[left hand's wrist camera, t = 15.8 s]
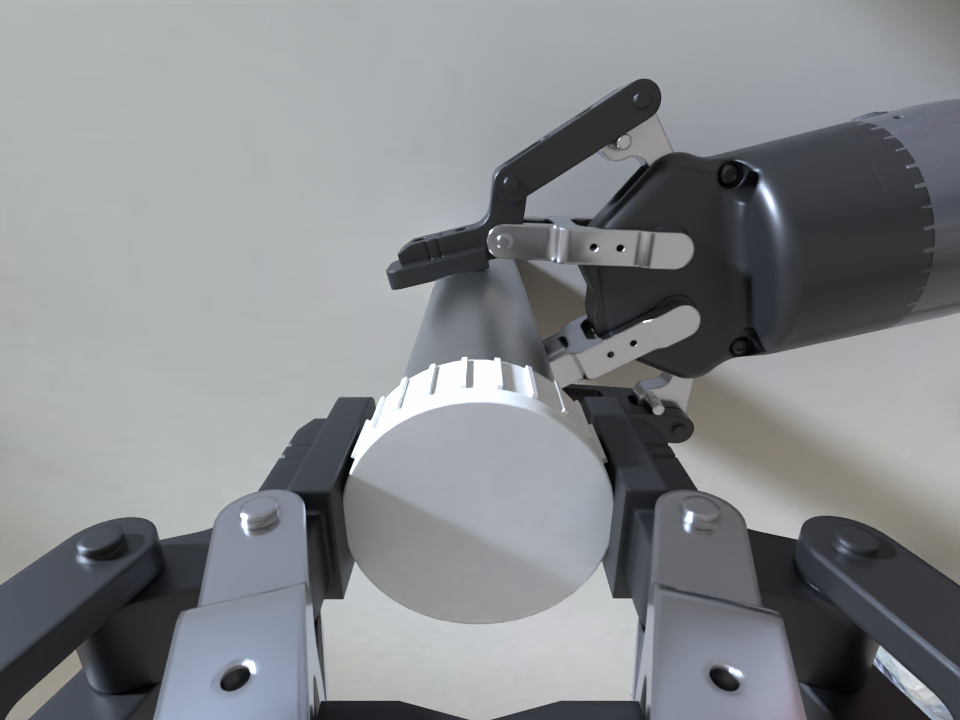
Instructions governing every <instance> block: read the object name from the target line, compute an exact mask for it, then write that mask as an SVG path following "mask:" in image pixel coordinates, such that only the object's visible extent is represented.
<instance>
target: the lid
mask: <svg viewBox="0 0 960 720" xmlns="http://www.w3.org/2000/svg"><path fill="white" fill-rule="evenodd" d="M351 458H353V459H355V461H354V463H353V466H352V468H351V471H350V473H349V476H348V479H347V481H346V484H345V488H344V492H343V506H344V515H345V523H346V532H347V540H348V547H349V549H350V552H351V554H352V556H353V558H354V560H355V561H356V563H357V564H358V566H359V568H360V569H361V571H362V572H363V573H364V574H365V575H366V576H367V578H368V579H369V580H370V581H371V582H372V583H373V584H374V585H375V586H376V587H377V588H378V589H379V590H381V591H382V592H383V593H384V594H386V595H387V596H388V597H390V598H391V599H393V600H394V601H396V602H398V603H399V604H401V605H403V606H405V607H406V608H408V609H411V610H413V611H415V612H418V613H420V614H422V615H426V616H429V617H432V618H435V619H439V620H444V621H449V622H454V623H464V624H493V623H503V622H508V621H513V620H518V619H522V618H525V617H528V616H531V615H534V614H537V613H539V612H542V611H544V610H546V609H549V608H550V607H552V606H554V605H556V604H558V603H559V602H561V601H563V600H564V599H566V598H567V597H568V596H570V595H571V594H573V593H574V592H575V591H576V590H577V589H578V588H580V587H581V586H582V585H583V584H584V583H585V582H586V581H587V580H588V579H589V577H590V576H591V575H592V574H593V573H594V572H595V570H596V569H597V567H598V566H599V564H600V563H601V561H602V559H603V558H604V556H605V553H606V551H607V549H608V546H609V538H610V529H611V520H612V512H613V502H614V494H613V489H612V485H611V482H610V479H609V477H608V474H607V472H606V469H605V466H604V463H607V462H608V461H607V458H606V456H605V454H604V451H603V449H602V446H601V444H600V441H599V439H598V437H597V434H596V432H595V429H594V427H593V424H590V425H588V422H587V420H586V417H585V415H584V412H583V410H582V407H581V405H580V403H579V401H578V400H576V401H574V402H573V400H572V399H571V398H570V397H569V396H568V395H567V394H566V393H565V392H564V391H563V390H562V389H561V387H560V384H559V382H558V381H556V380H554V381H553V382H551V381H550V380H548V379H547V378H545V377H543V376H541V375H539V374H538V373H536V372H534V371H533V370H532V367H530V366H528V365H527V366H526V368H523V367H521V366H518V365H514V364H510V363H506V362H501V358H495V360H494V361H492V360H468V357H462V361H457V362H451V363H447V364H443V365H439V366H436V364H432V365H430V368H429V369H428V370H426V371H423V372H421V373H419V374H418V375H416V376H414V377H412V378H410V379H408V378H407V377H405V378H404V379H402V382H401V385H400V386H399V387H398V388H396V389H395V390H394V391H393V392H392V393H391V394H390V395H389V396H388V397H387V398H385V397H384V396H383V397H382V398H381V399H380V401H379V403H378V406H377V408H376V411H375V413H374V416H373V418H372V420H371V421H370V420H366V422H365V425H364V427H363V429H362V432H361V434H360V436H359V439H358V441H357V444H356V446H355V448H354V451H353V453H352V456H351Z"/></svg>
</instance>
